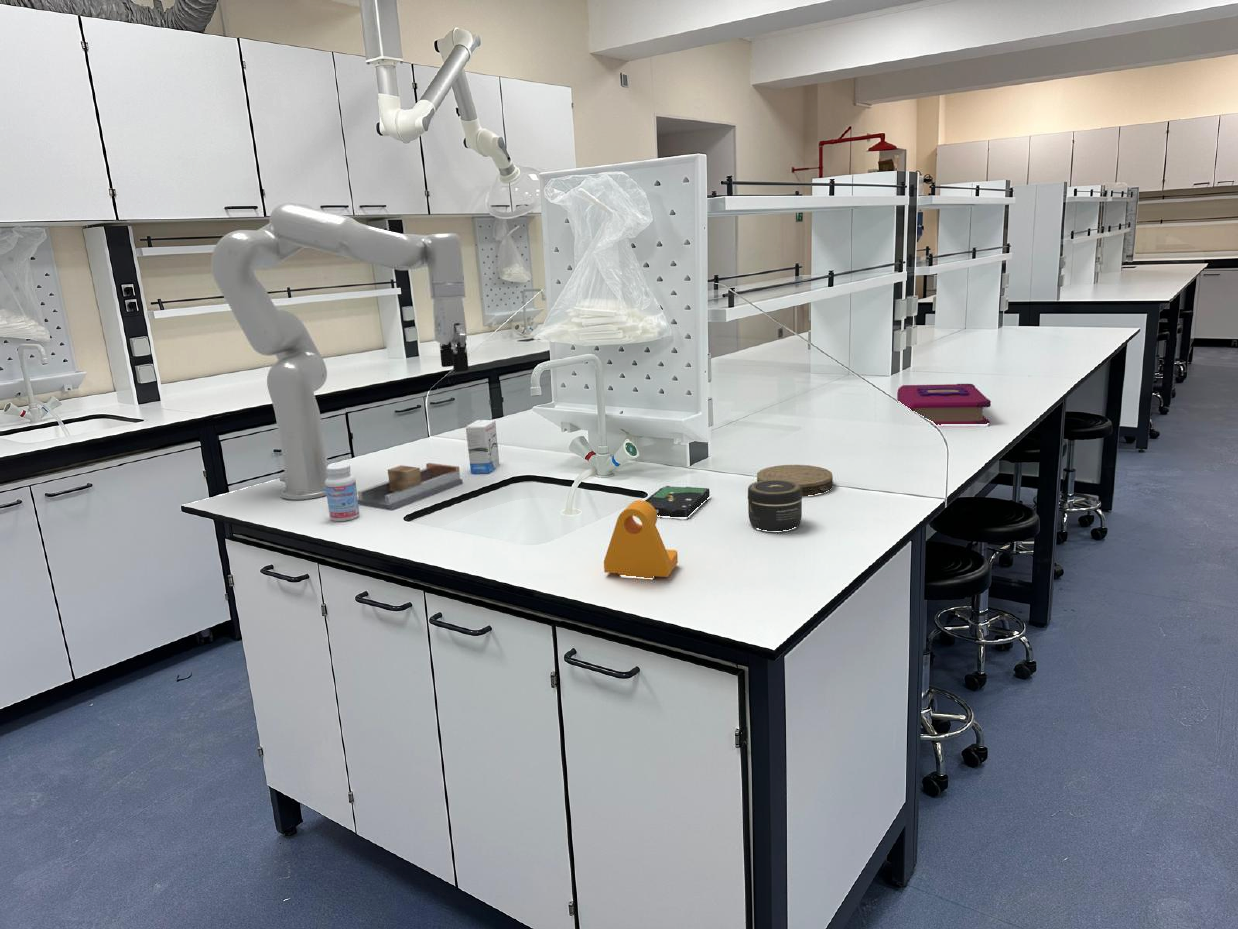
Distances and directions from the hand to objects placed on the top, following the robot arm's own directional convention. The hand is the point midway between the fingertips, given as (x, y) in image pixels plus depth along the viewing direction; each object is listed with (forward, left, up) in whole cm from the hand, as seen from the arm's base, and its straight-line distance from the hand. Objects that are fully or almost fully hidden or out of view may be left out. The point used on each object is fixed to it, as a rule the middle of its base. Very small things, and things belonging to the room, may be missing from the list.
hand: (454, 368), depth 194 cm
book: (+82, +106, -28) cm, 137 cm away
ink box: (-5, +12, -27) cm, 30 cm away
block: (-7, -12, -26) cm, 29 cm away
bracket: (+65, -29, -27) cm, 76 cm away
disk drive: (+53, +4, -28) cm, 60 cm away
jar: (+76, +1, -27) cm, 81 cm away
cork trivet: (+70, +26, -28) cm, 80 cm away
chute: (-7, -11, -27) cm, 30 cm away
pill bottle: (-7, -29, -27) cm, 41 cm away
